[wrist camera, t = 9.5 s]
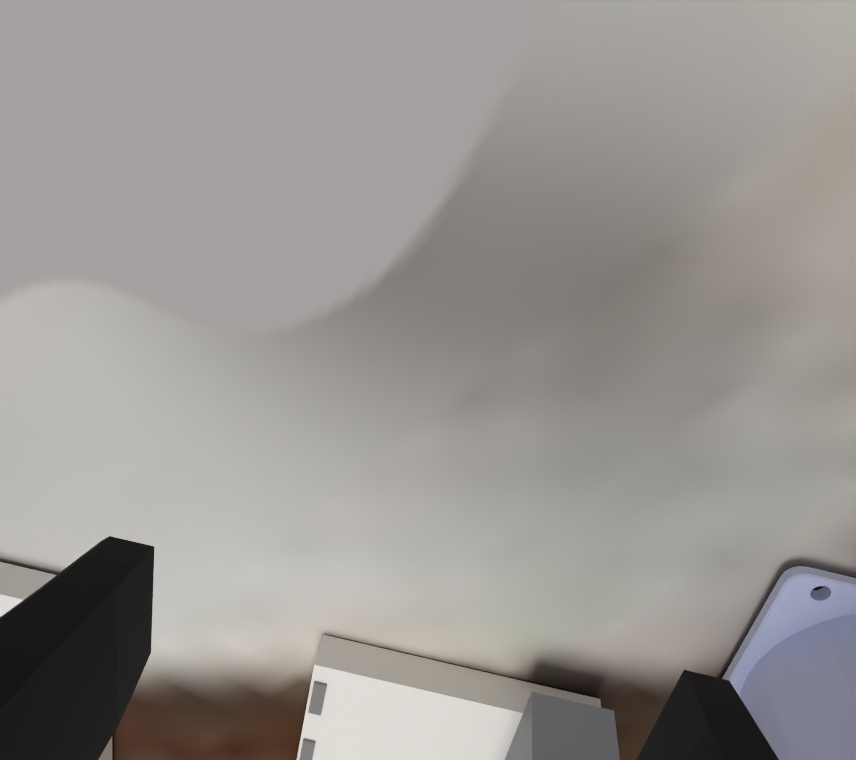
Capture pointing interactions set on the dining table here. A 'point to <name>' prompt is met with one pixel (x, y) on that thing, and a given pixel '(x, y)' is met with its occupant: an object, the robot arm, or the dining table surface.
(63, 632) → the robot arm
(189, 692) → the dining table surface
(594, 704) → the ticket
